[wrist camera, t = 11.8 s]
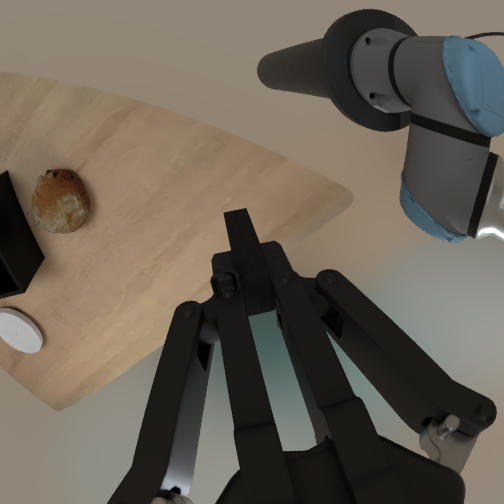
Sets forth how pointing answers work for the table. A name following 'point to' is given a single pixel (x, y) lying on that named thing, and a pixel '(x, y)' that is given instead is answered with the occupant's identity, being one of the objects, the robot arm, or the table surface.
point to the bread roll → (60, 202)
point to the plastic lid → (19, 331)
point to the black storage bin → (15, 244)
